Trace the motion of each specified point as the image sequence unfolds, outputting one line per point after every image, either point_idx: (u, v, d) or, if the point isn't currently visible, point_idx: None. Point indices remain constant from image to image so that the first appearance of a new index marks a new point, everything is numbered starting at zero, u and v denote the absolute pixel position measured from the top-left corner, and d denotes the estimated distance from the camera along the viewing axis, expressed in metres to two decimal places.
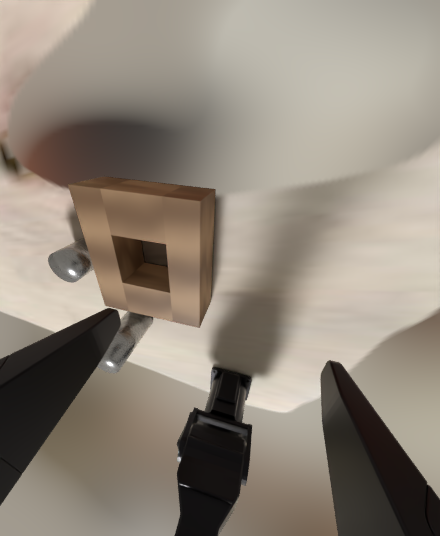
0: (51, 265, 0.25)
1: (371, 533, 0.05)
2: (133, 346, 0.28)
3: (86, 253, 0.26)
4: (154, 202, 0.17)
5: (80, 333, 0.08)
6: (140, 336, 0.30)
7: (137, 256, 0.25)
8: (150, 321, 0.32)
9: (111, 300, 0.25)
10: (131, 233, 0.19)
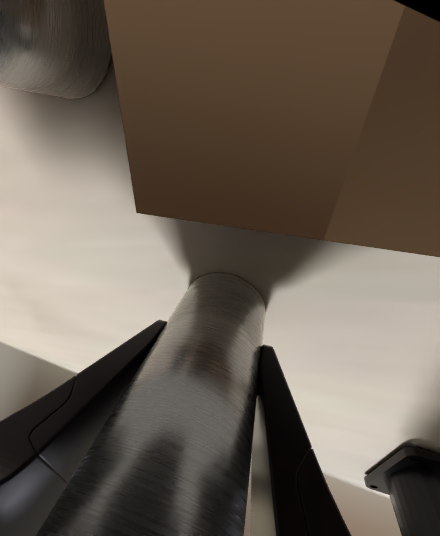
0: None
1: (260, 493, 0.05)
2: None
3: None
4: None
5: (140, 349, 0.07)
6: (257, 379, 0.08)
7: None
8: None
9: (195, 144, 0.03)
10: None
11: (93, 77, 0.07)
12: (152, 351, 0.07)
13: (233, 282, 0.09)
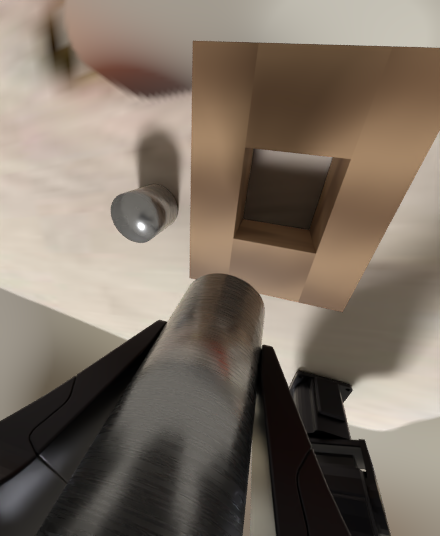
0: (114, 215, 0.17)
1: (260, 493, 0.05)
2: (251, 434, 0.06)
3: (164, 200, 0.18)
4: (368, 64, 0.09)
5: (140, 349, 0.07)
6: None
7: (243, 206, 0.17)
8: (263, 321, 0.10)
9: (203, 269, 0.17)
10: (287, 141, 0.11)
11: None
12: (151, 351, 0.07)
13: (232, 282, 0.09)
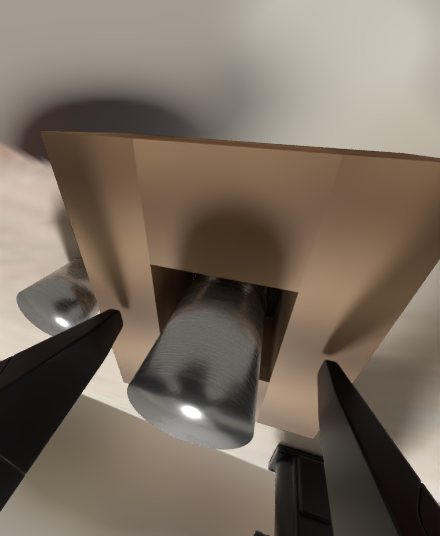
0: (23, 310, 0.14)
1: (365, 531, 0.05)
2: None
3: (89, 285, 0.14)
4: (306, 177, 0.06)
5: (83, 334, 0.08)
6: None
7: None
8: None
9: None
10: (205, 263, 0.08)
11: None
12: (187, 294, 0.09)
13: None
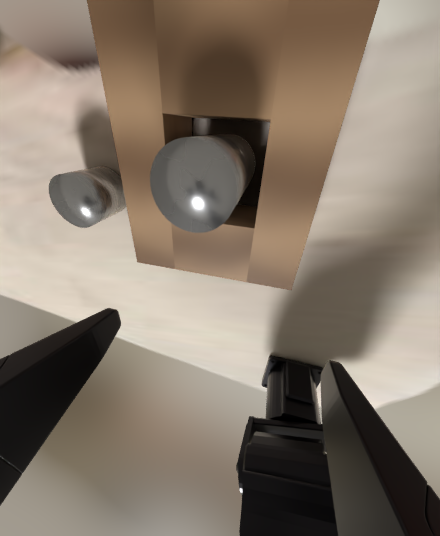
0: (54, 199, 0.16)
1: (371, 533, 0.05)
2: (245, 181, 0.12)
3: (107, 182, 0.17)
4: (269, 4, 0.08)
5: (80, 333, 0.08)
6: (249, 176, 0.13)
7: None
8: (254, 167, 0.15)
9: (148, 251, 0.16)
10: (203, 102, 0.10)
11: (121, 209, 0.20)
12: None
13: (234, 135, 0.14)
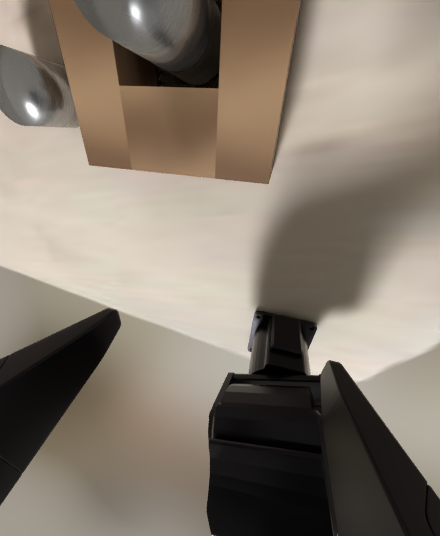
0: None
1: (371, 533, 0.05)
2: (201, 1, 0.09)
3: (56, 71, 0.15)
4: None
5: (80, 333, 0.08)
6: (211, 19, 0.10)
7: (148, 67, 0.14)
8: None
9: (99, 147, 0.14)
10: None
11: None
12: None
13: None
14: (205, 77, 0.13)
